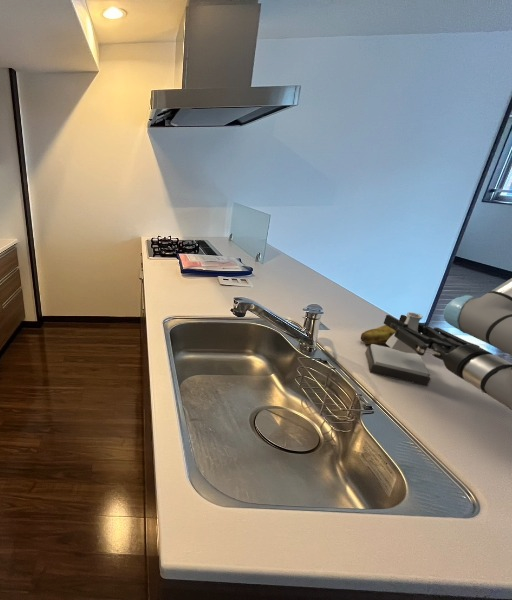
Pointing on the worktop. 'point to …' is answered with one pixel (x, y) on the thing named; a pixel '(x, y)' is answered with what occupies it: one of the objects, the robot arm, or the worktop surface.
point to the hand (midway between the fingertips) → (393, 319)
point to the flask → (412, 324)
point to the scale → (397, 364)
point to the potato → (377, 335)
